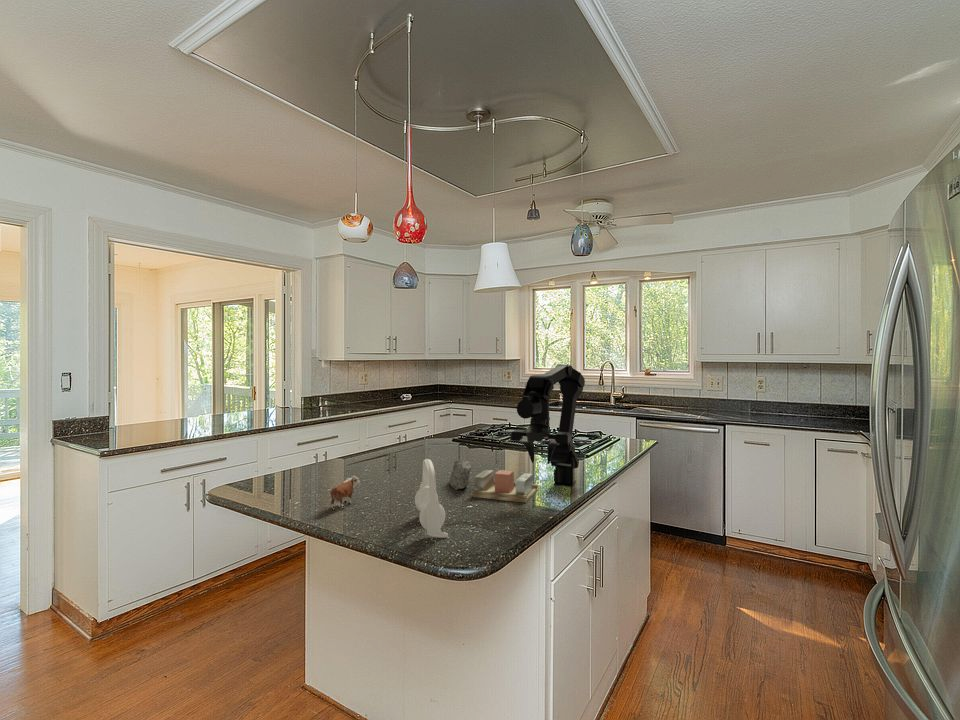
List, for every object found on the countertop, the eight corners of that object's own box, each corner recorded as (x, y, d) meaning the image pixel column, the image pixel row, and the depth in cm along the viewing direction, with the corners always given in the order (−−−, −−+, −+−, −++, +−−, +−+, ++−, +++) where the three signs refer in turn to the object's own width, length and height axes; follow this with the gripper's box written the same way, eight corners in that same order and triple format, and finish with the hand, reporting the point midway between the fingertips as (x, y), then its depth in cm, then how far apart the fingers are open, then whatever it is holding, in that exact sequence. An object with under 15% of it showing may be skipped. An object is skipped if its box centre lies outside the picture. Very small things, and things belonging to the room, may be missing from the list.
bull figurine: (363, 499, 160) (362, 474, 160) (338, 513, 148) (337, 485, 148) (351, 498, 162) (350, 473, 162) (325, 511, 149) (325, 484, 149)
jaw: (533, 488, 167) (533, 473, 167) (524, 496, 158) (524, 481, 157) (524, 487, 168) (524, 473, 168) (515, 496, 159) (515, 480, 158)
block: (499, 487, 169) (499, 469, 168) (513, 489, 167) (513, 471, 167) (494, 491, 164) (494, 473, 164) (509, 493, 162) (509, 474, 162)
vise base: (537, 490, 168) (537, 472, 168) (526, 502, 155) (525, 483, 155) (487, 485, 175) (487, 468, 175) (472, 496, 162) (472, 478, 162)
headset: (414, 515, 145) (413, 454, 145) (438, 513, 147) (437, 452, 146) (420, 541, 126) (419, 470, 125) (448, 538, 127) (447, 468, 127)
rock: (470, 491, 167) (471, 462, 168) (446, 490, 167) (447, 461, 168) (472, 486, 182) (473, 459, 183) (450, 486, 182) (451, 459, 183)
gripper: (504, 416, 156) (505, 466, 156) (563, 419, 149) (564, 471, 150) (515, 412, 166) (515, 459, 167) (571, 414, 159) (571, 463, 160)
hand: (540, 463), depth 160 cm, fingers open, 5 cm apart
